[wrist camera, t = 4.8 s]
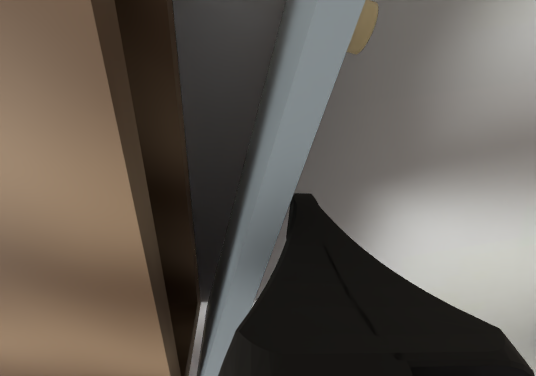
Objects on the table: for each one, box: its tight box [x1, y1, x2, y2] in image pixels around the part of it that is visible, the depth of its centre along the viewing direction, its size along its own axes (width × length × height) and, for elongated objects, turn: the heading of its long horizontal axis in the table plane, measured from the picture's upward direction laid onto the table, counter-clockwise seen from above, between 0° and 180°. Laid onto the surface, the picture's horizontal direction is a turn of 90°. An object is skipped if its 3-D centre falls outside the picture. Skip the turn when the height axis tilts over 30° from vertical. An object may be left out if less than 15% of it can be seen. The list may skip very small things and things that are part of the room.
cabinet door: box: [197, 0, 378, 376], centre depth 11 cm, size 18×2×6 cm, turn 165°
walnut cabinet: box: [0, 0, 201, 376], centre depth 10 cm, size 18×10×6 cm, turn 177°
